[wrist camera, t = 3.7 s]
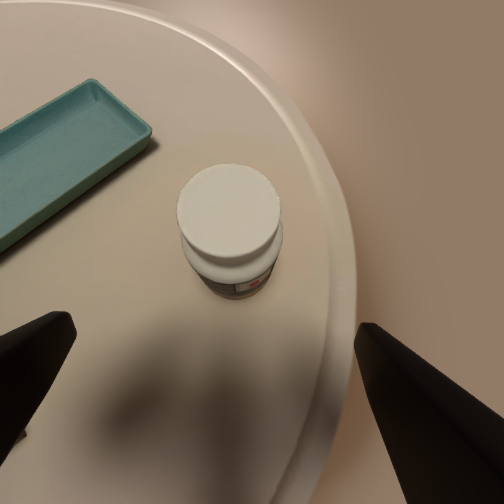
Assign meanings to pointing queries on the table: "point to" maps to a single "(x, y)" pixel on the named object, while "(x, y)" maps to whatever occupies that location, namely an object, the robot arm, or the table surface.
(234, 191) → the white rounded container
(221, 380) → the table surface
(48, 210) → the rectangular tray
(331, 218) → the table surface
